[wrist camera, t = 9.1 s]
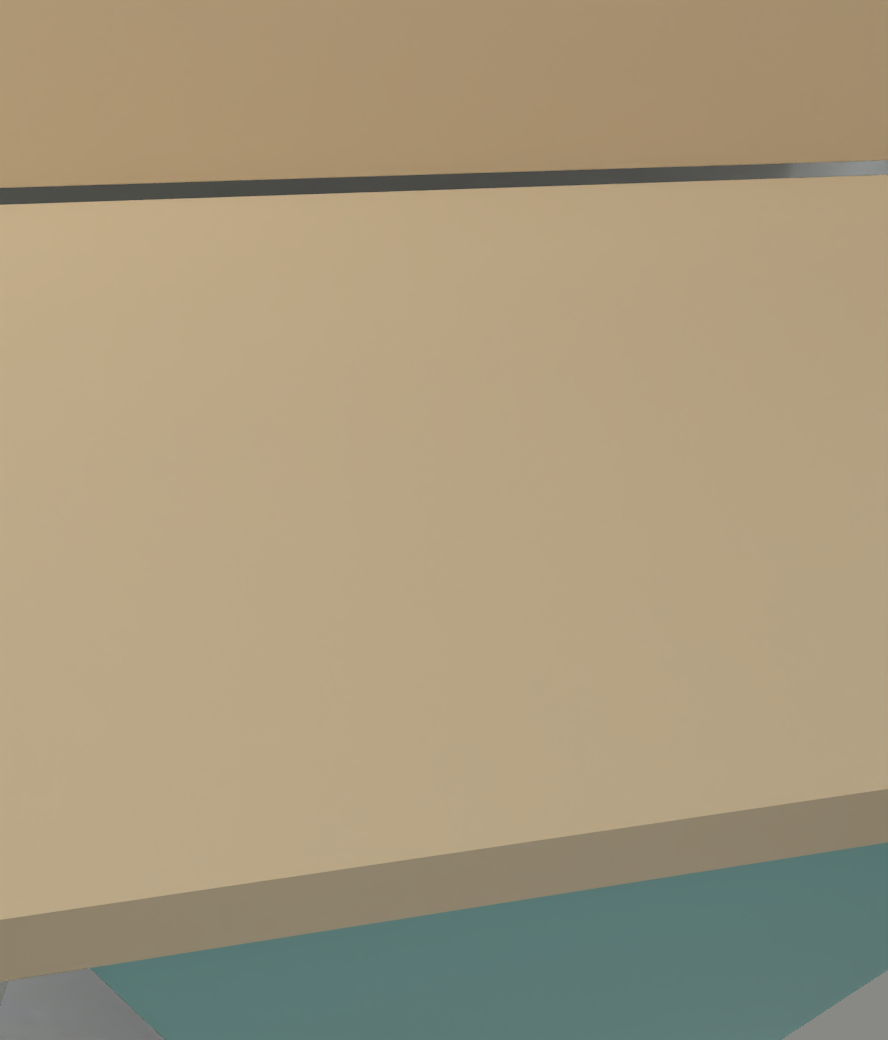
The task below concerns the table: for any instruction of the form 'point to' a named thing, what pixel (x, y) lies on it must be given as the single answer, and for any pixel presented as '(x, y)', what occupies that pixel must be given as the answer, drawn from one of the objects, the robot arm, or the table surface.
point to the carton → (432, 87)
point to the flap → (448, 608)
